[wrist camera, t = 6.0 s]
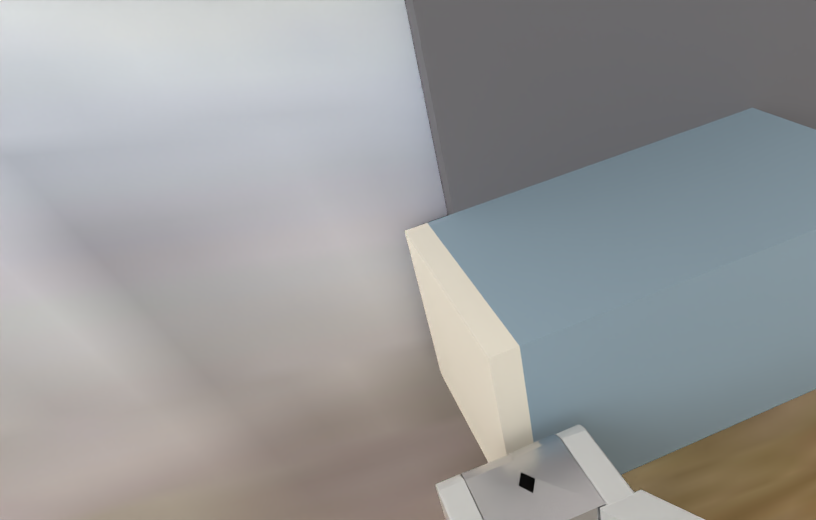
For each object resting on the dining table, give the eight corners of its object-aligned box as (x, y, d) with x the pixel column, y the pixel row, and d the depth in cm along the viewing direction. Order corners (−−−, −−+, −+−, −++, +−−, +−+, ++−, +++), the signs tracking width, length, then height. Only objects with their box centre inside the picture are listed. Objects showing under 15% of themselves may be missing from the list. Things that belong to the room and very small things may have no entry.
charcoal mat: (506, 506, 22) (513, 520, 22) (362, -212, 10) (370, -219, 10) (812, 374, 24) (825, 383, 24) (992, -363, 12) (1026, -375, 12)
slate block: (519, 519, 13) (888, 357, 14) (488, 358, 10) (949, 176, 12) (440, 373, 17) (734, 258, 18) (404, 230, 14) (752, 107, 16)
